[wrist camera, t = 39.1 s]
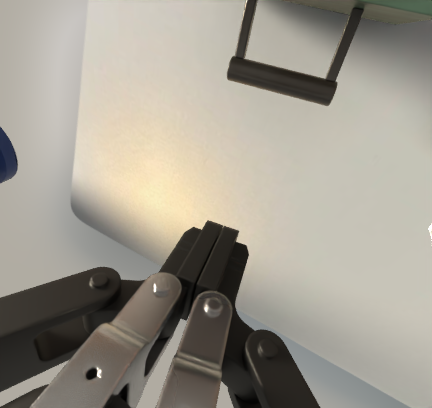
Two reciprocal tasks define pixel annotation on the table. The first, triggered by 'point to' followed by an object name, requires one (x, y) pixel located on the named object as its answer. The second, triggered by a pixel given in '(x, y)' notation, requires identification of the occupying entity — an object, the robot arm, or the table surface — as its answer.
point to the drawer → (325, 88)
